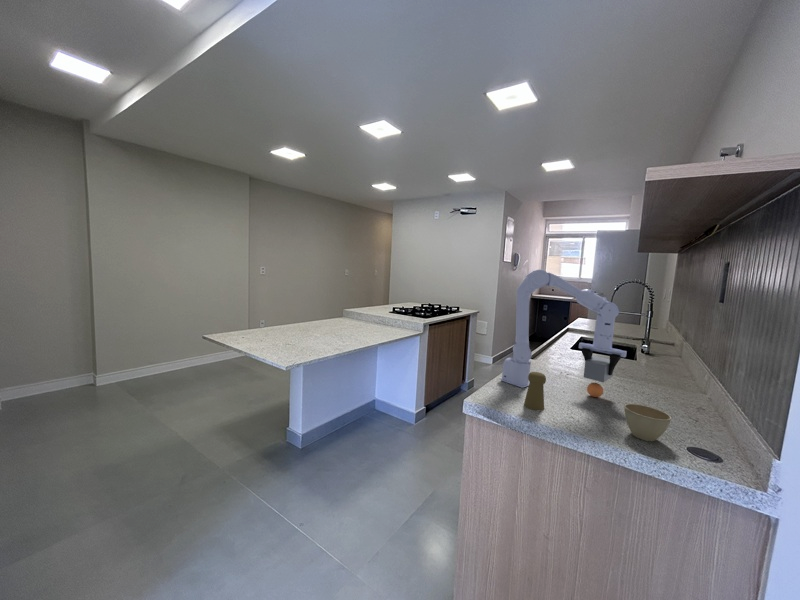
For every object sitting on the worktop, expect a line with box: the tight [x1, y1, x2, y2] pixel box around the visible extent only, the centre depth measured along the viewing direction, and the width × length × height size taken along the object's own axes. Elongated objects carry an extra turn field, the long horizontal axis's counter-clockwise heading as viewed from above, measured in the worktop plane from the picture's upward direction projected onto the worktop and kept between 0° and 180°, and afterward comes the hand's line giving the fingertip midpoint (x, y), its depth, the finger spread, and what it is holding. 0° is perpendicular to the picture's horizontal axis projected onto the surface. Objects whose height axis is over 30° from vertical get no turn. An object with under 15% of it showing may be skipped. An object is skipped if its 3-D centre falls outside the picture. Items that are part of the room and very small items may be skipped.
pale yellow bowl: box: [623, 403, 672, 442], centre depth 86 cm, size 10×10×7 cm
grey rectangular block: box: [583, 355, 614, 383], centre depth 115 cm, size 6×11×6 cm, turn 133°
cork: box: [523, 371, 547, 411], centre depth 102 cm, size 6×6×11 cm
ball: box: [586, 382, 604, 398], centre depth 115 cm, size 5×5×5 cm
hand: (598, 372), depth 116 cm, fingers closed on grey rectangular block, 6 cm apart
